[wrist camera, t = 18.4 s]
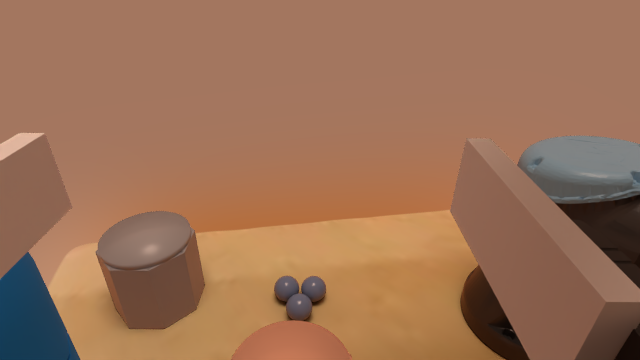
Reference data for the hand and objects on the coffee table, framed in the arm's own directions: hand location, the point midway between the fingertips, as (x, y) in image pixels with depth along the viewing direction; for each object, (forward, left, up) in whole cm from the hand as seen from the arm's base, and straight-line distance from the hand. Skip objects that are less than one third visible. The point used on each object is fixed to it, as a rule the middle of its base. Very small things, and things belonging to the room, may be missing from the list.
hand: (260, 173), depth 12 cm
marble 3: (-2, -25, -32) cm, 40 cm away
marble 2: (0, -22, -32) cm, 39 cm away
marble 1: (+2, -25, -32) cm, 40 cm away
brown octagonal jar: (+18, -25, -32) cm, 44 cm away
